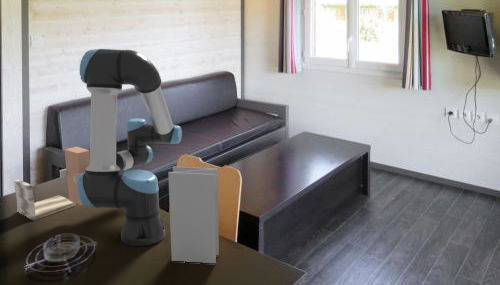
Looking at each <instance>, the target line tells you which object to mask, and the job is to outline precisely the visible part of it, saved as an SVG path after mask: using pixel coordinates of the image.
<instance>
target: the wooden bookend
mask: <svg viewBox="0 0 500 285" xmlns="http://www.w3.org/2000/svg"><path fill="white" fill-rule="evenodd" d="M13 183H14V191H15V198H16V206H17V208H16V213H17V212H19V213H20V215H21V214H22V215H21V216H23V215H24V216H23V217H25V216H26V218H28V219H30V220H32V221H36V220H39V219H42V218H45V217H48V216H50V215H53V214H55V213H59V212H62V211H64V210H68V209H70V208H73V207H75V206H76V205H77V204H76V203H74V202H71V201H69V198H67V197H64V196H62V195H60V194H58V195H54V196H51V197H48V198H45V199H42V200H39V201H36V202H35V199H34V190H33V185H32V184H31V183H28V182H25V181H24V180H21V179H18V178H17V179H14V180H13ZM19 213H18V214H19Z"/></svg>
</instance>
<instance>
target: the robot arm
mask: <svg viewBox="0 0 500 285" xmlns="http://www.w3.org/2000/svg"><path fill="white" fill-rule="evenodd" d="M79 76H80V80H81V81H82V83H84V84H86V90H87V91H88V92H89V93H90V136H89V138H90V139H89V142H90V143H89V144H90V145H89V150H90V164H89V165H88V166H87V167H86V168H85V172H83V173H80V174H76V175H74V183H77V182H78V194H79V197H80V200H81V201H82V203H83V204H84V205H83V206H86V207H88V208H89V207H91V208H96V209H99V208H101V209H102V208H103V209H117V210H118V209H119V210H120V209H121V210H124V220H123V224H122V228H121V230H120V239H121V241H122V242H123V243H124V244H125V245H128V246H134V247H146V246H152V245H155V244H157V243H160V242H161V241H162V240H163V239H165V237H166V227H165V225H164V223H163V220H162V218H161V215H160V204H159V203H160V199H159V197H160V196H159V194H160V193H159V189H160V187H159V182H158V177H157V176H156V175H155V174H154V173H153V172H151V171H149V170H145V169H132V168H135V167H139V166H144V165H146V164H148V163H150V162H151V161H152V160H153V158H154V152H153V149H152V147H151V146H149V145H148V144H164V145H165V144H166V145H168V144H169V145H178V144H180V143H181V140H182V137H183V130H182V127H181V126H179V125H177V124H174V122H173V120H172V117H171V114H170V111H169V108H168V105H167V102H166V100H165V99H166V98H165V96H164V93H163V90H162V87H161V85H162V78H161V75H160V72H159V70H158V69H157V68H156V66H155V65H154V64H153V62H152V61H151V60H150V59H148V57H146V56H145V55H143V54H142V53H140V52H138V51H136V50H131V49H114V48H113V49H111V48H110V49H109V48H108V49H107V48H106V49H105V48H98V49H89V50H87V51H86V52H85V53H84V55H82V57H81V60H80V64H79ZM123 85H126V86H127V85H130V86H133V87H134V89H135V90H136V91H137V92H138V93H140V96H141V99H142V101H143V104H144V106H145V109H146V111H147V113H148V116H149V118H150V121H151V122H152V123H151V124H148V123H147V122H146V121H147V120H146V119H144V118H139V117H136V118H131V119H129V120H127V122H126V133H127V134H126V135H127V149H126V150H121V151H118V152H117V137H118V136H117V132H118V131H117V130H118V128H117V127H118V125H117V124H118V123H117V122H118V95H119V94H120V93H121V92H122V91H123ZM122 171H124V172H123V173H122V174H121V172H122ZM65 177H66V178H67V170H66V168H64V169H59V178H62V179H63V178H65Z"/></svg>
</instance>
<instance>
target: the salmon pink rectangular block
mask: <svg viewBox="0 0 500 285" xmlns="http://www.w3.org/2000/svg"><path fill="white" fill-rule="evenodd" d="M64 155H65V156H64V157H65V158H64V159H65V167H66V168H65V169H66V170H67V176H66V179H67V188H68V199H69V201H71V202H74V203H76V205H79V206H81V207H82V206H85V205H84V204H83V203H82V201H81V200H80V197H79V194H78V182H77V183H74V175H76V174H80V173H83V172H85V168H86V167H87V166H88V165H89V164H90V149H87V148H83V147H79V146H73V147H69V148H66V149H64Z"/></svg>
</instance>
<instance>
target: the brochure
mask: <svg viewBox="0 0 500 285" xmlns="http://www.w3.org/2000/svg"><path fill="white" fill-rule="evenodd" d="M168 195H169V196H168V197H169V198H168V199H169V221H170V222H169V223H170V224H169V225H170V226H169V228H170V246H171V247H170V250H171V262H172V261H184V262H183V263H185V261H186V262H203V263H216V264H217V256H216V255H219V254H220V253H219V252H220V251H219V250H220V248H219V247H220V246H219V244H220V242H219V234H220V232H219V227H220V226H219V168H216V167H213V168H212V167H190V166H189V167H187V166H172V171H168Z"/></svg>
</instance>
